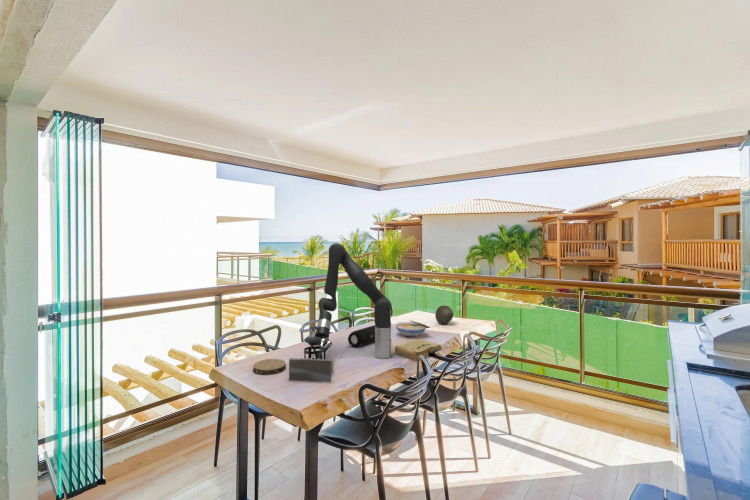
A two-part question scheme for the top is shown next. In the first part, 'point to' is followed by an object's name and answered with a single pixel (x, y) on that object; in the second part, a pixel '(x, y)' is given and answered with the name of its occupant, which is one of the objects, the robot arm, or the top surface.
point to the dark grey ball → (444, 314)
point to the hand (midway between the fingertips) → (317, 358)
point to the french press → (313, 346)
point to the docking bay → (310, 369)
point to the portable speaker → (362, 336)
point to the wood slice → (269, 366)
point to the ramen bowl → (411, 328)
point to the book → (416, 349)
